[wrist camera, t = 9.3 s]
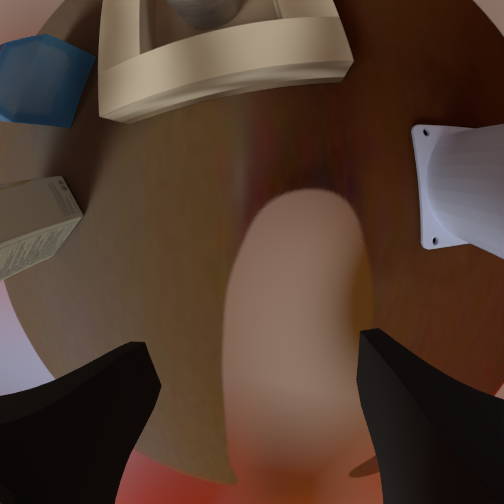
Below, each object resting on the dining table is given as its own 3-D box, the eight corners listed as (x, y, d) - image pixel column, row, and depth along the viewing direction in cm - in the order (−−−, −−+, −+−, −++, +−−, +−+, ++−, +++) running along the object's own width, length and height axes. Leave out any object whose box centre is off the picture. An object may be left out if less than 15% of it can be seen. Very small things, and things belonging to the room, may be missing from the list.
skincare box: (63, 173, 17) (-68, 192, 6) (86, 215, 18) (-51, 261, 6) (31, 221, 19) (-74, 257, 7) (51, 259, 20) (-54, 313, 8)
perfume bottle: (70, 128, 16) (-57, 121, 5) (32, 122, 16) (-72, 119, 5) (96, 57, 15) (-16, 12, 3) (53, 59, 15) (-43, 34, 3)
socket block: (293, -51, 10) (292, -77, 7) (341, 82, 14) (353, 60, 10) (127, -11, 12) (107, -28, 9) (129, 124, 16) (99, 116, 12)
